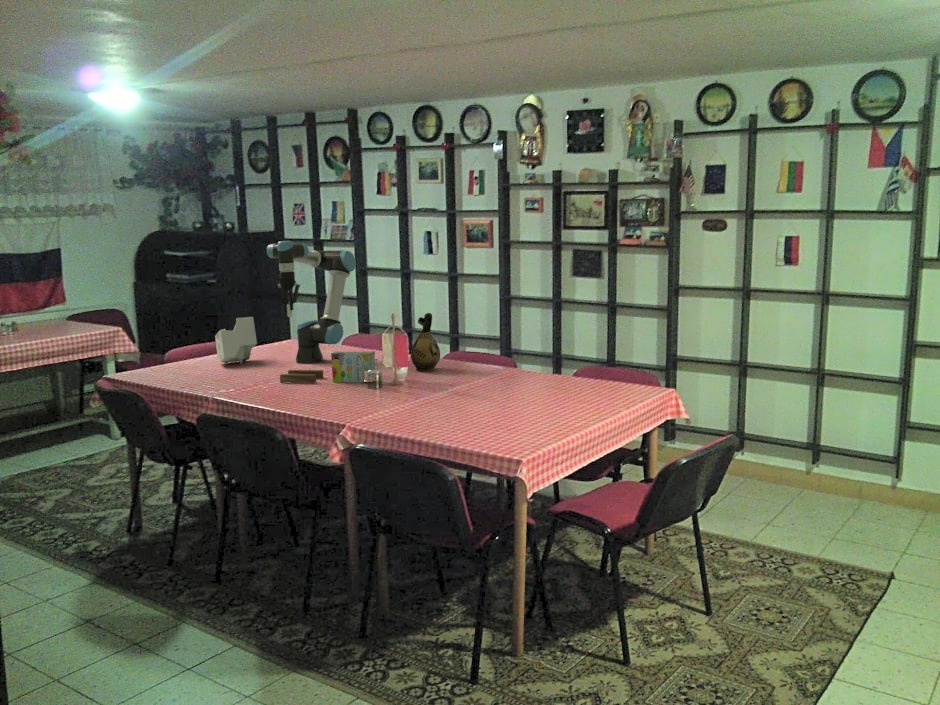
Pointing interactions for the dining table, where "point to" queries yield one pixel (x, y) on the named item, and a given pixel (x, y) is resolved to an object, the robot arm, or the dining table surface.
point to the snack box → (351, 365)
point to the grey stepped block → (236, 341)
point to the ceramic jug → (425, 347)
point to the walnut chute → (302, 376)
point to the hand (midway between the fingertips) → (289, 316)
